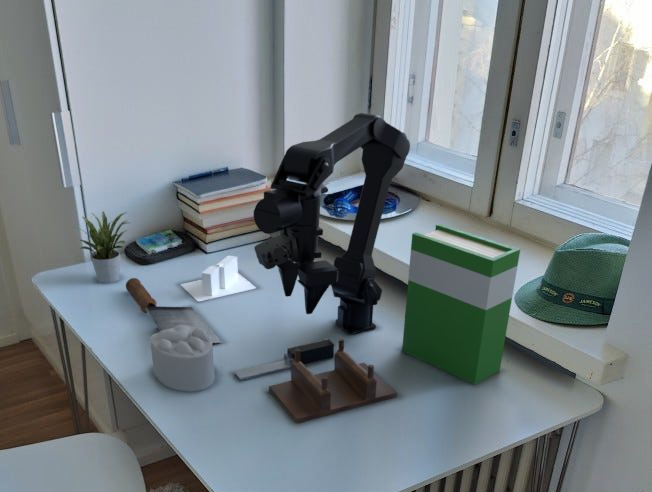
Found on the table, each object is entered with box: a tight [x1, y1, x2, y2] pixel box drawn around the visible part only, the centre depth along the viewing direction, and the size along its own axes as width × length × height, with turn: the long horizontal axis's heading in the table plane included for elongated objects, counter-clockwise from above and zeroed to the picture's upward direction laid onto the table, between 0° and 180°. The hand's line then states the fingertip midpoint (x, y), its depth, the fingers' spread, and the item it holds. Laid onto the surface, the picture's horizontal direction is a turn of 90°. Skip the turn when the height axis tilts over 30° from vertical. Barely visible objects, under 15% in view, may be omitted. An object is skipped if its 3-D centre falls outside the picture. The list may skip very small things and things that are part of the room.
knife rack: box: [268, 338, 398, 424], centre depth 139 cm, size 20×12×8 cm, turn 112°
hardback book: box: [401, 223, 521, 385], centre depth 143 cm, size 18×7×24 cm, turn 38°
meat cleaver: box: [125, 277, 223, 344], centre depth 169 cm, size 34×11×4 cm, turn 23°
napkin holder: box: [180, 255, 257, 302], centre depth 181 cm, size 15×11×6 cm
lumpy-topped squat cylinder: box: [149, 325, 215, 392], centre depth 146 cm, size 10×13×9 cm
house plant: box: [74, 211, 130, 284], centre depth 184 cm, size 14×14×16 cm
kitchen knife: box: [234, 338, 335, 381], centre depth 149 cm, size 20×3×3 cm, turn 112°
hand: (298, 304), depth 144 cm, fingers open, 9 cm apart
